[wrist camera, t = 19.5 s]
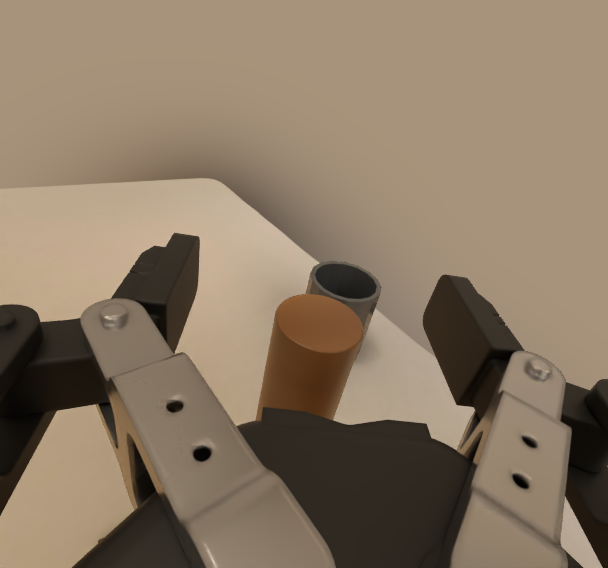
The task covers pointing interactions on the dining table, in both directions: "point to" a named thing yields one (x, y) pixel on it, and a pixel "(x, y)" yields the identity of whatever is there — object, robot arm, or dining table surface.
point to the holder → (347, 288)
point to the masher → (310, 355)
